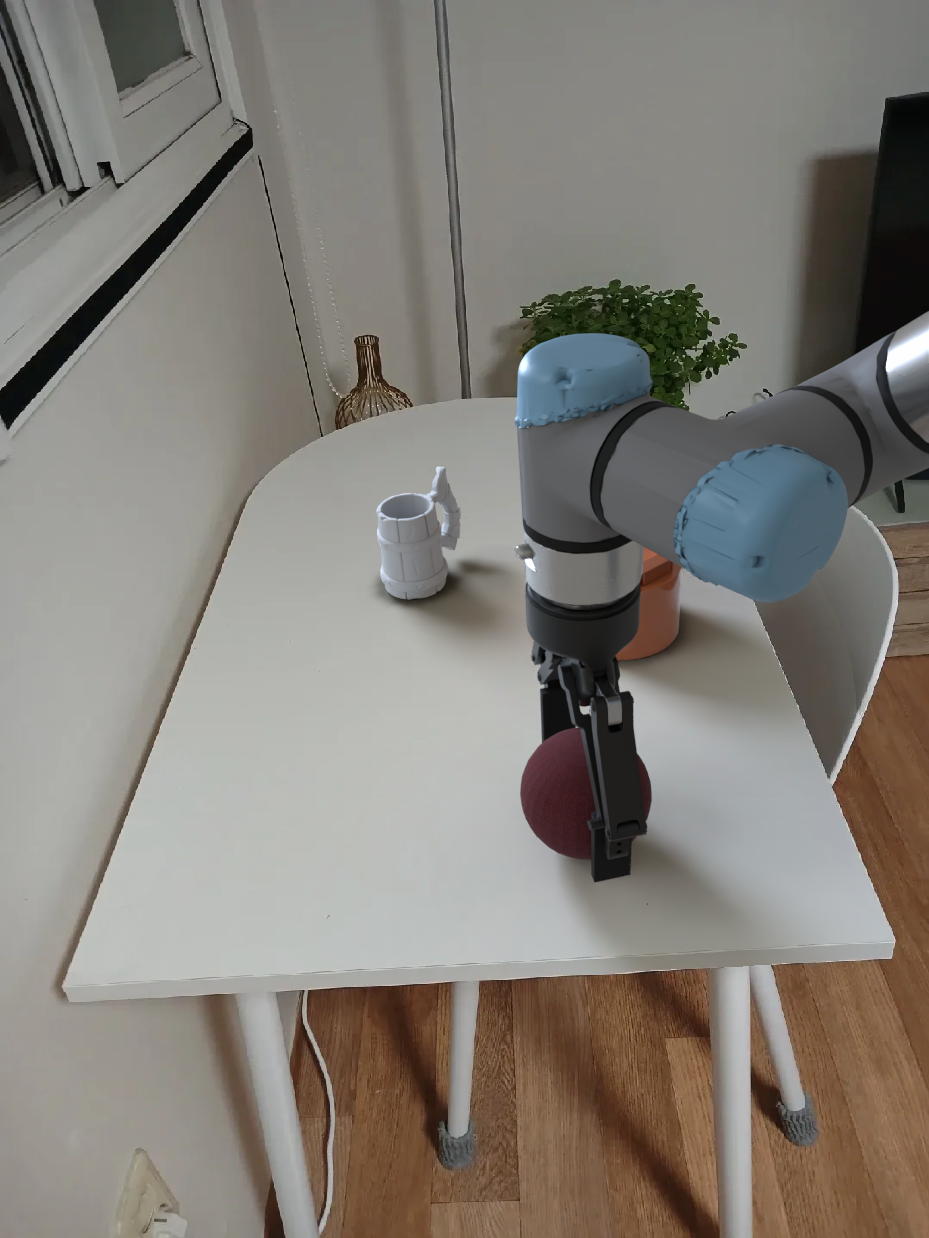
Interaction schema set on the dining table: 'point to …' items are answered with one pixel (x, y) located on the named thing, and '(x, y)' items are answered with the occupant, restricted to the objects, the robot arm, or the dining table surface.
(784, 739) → the dining table surface
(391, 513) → the mug
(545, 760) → the decorative ball
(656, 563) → the pedestal
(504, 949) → the dining table surface
